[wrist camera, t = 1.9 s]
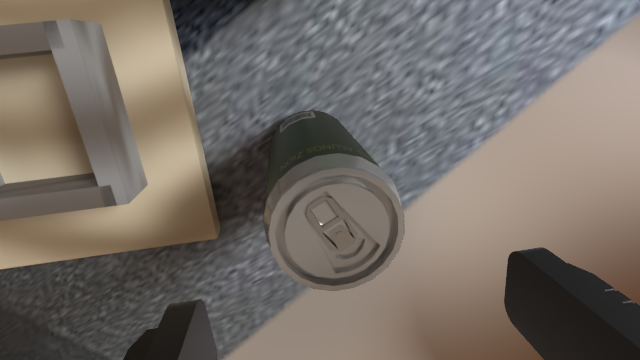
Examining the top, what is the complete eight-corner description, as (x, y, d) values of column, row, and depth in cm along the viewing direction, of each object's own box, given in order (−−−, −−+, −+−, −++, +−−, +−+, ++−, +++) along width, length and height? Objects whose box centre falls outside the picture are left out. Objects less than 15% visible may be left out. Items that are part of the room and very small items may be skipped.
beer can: (253, 138, 23) (229, 218, 12) (322, 92, 22) (364, 129, 11) (299, 199, 25) (316, 319, 14) (363, 158, 24) (435, 247, 13)
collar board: (-171, -44, 18) (-313, -74, 13) (153, -69, 19) (117, -106, 14) (-16, 261, 24) (-79, 305, 20) (220, 228, 25) (208, 263, 21)
